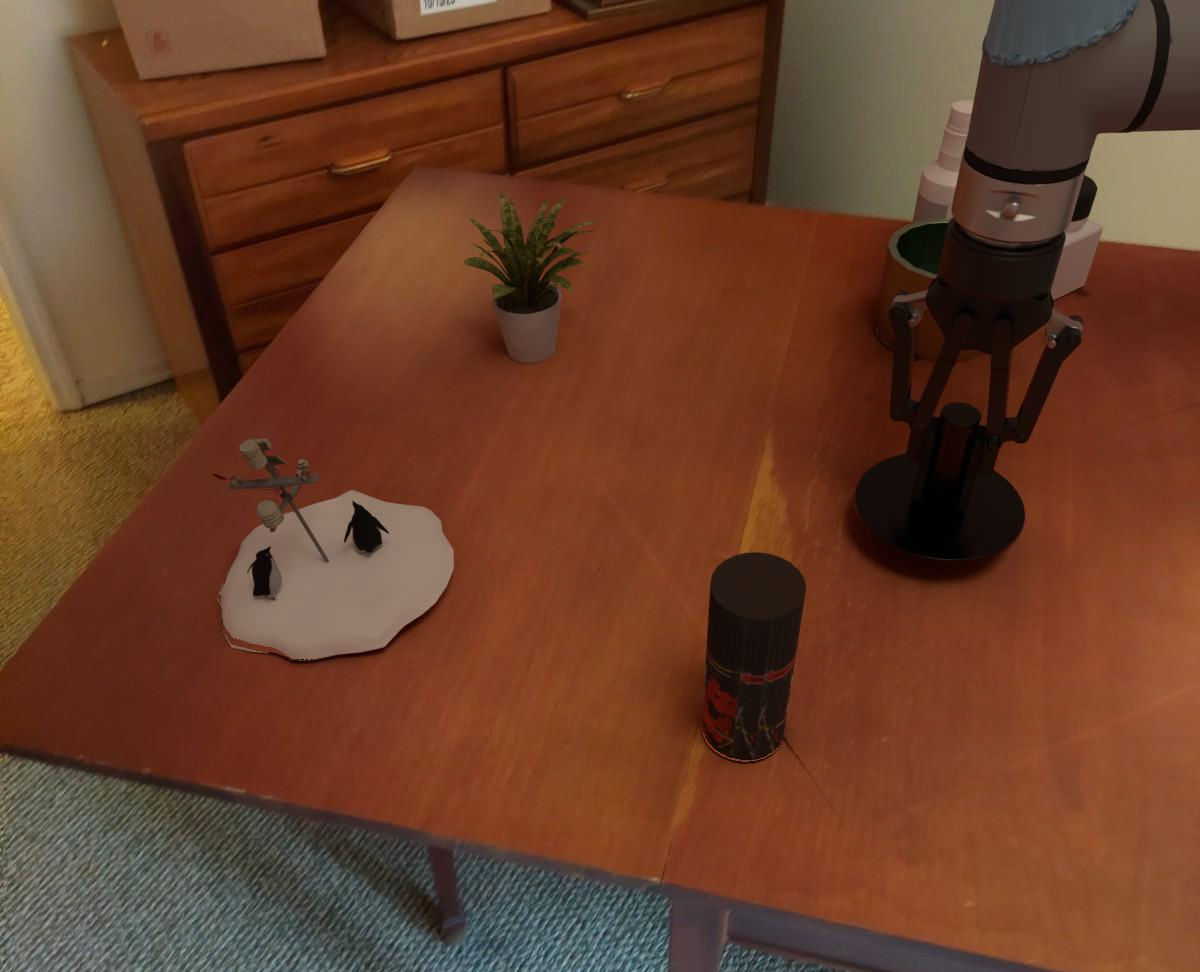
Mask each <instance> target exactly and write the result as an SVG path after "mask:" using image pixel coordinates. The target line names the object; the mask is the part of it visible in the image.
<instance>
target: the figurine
mask: <svg viewBox="0 0 1200 972" xmlns="http://www.w3.org/2000/svg"><path fill="white" fill-rule="evenodd" d="M272 447H273V445H272V443H271V441H270V439H269V438H255V437H252V438H250V439H247V440H245V441H243V442H242V443H241V444H240V445H239V451H240V453H241V456H242V457H243V458H244V459H245V461H246V462H247V464H248V466H249V467H250V469H251V470H254V471H257V470H262V469H263V468H265V469H266V471H267V472H268V473H270V475H271V476H272V477H269V478H268V477H267V478H258V479H257V478H256V479H244V478H245V477H243V476H236V475H231V476H230V477H225V476H222V475H220V474H218V473H211V475H212V476H213V477H215V478H217V479H218V480H220V481H227V480H230V482H229V484H228V486H227V490H250V489H252V490H260V491H261V490H262V491H264V490H265V491H275V494H277V493H278V495H279V496H280V499H281V503H280V505H278V503H277V501H273V500H270V499H265V500H262V501H260V502H259V503H258V505H257V507H256V515H257V516H258V519H260V522H261V523H262V524H260V525H258V526H256V527H254V528H253V529H252V530H251V532H250V533H249V534H248V535H247V536H246V537H244V539H243V540H242V541H241V544H240V546H239V549H238V553H237V555H236V557H235V559H234V561H233V563H232V565H231V567H230V569H229V571H228V572H229V573H228V572H227V574H228V576H227V575H226V576H227V579H226V582H225V584H224V586H223V588H222V585H223V582H224V580H223V581H222V584H221V586H220V589H219V592H218V596H219V594H220V595H221V596H222V597H221V604H220V602H219V599H218V596H217V598H216V601H217V602H218V604H219V606H220V609H221V620H222V619H223V625H224V626H225V628H226V630H227V631H228V632H229V633H230V635H231V636H232V637H233V638H234V639H235V638H236V639H238V640H239V639H240V640H242V641H243V640H244V642H245V641H246V642H248V643H249V642H250V644H251V643H252V644H257V645H262V646H265V647H266V646H267V647H273V648H275V649H278V651H279V650H280V651H281V652H283V653H284V654H286V656H289V657H290V658H291V659H300V660H299V661H302V660H301V659H304V660H303V661H314V660H319V659H323V658H324V659H325V658H328V657H332V656H337V655H346V654H357V653H363V652H369V651H372V650H377V649H378V650H379V649H383V648H385V647H386V646H387V645H388V644H389V642H391V641H392V640H393V639H394V638H395V636H396V635H398V633H399V632H400V631H401V630H403V628H404V627H405V626H406V625H408V624H410V623H411V622H413V621H414V620H416V619H418V618H420V616H422V615H424V614H425V613H426V612H427V611H428V610H429V609H430V608H432V607H433V606H434V605H436V603H437V601H438V600H439V598H441V595H442V594H443V592H444V591H445V590H446V588H447V586H448V584H449V582H450V580H451V577H452V575H453V572H454V569H455V560H454V559H455V558H454V555H455V553H454V548H453V547H452V545H451V544H450V542H449V540H448V538H447V537H446V535H445V534H444V532H443V525H442V520H441V519H440V518H439V517H438V516H437V515H436V514H435V513H434V512H433V511H432V510H431V509H430V508H427V507H425V506H421V505H413V504H412V505H411V504H404V503H395V502H388V501H384V500H381V499H379V498H376V497H372V496H371V495H367V494H365V493H362V492H360V491H357V490H353V489H350V490H349V491H346V492H344V493H341V494H340V495H338V496H336V497H334V498H331V499H327V500H323V501H320V502H319V501H318V502H316V503H313V504H309V505H307V506H304V507H301V508H298V507H297V506H296V503H295V502H294V499H295V497H296V496H297V495H298V494H299V491H300V489H301V486H304V485H313V484H318V480H319V478H320V477H321V475H320V474H311V472H310V471H308V469H309V467H310V462H309V461H308V460H307V459H304V458H300V459H299V460H298V461H297V464H296V467H297V471H296V474H295V475H294V476H282V474H281V471H280V470H279V469H277V467H275V466H278V465H279V466H281V465H287V461H285V460H284V459H282V457H280V456H279V455H267V456H266V452H265V451H269V450H271V448H272ZM290 487H291V488H290ZM287 488H290V492H288V490H287ZM287 505H290V507H291V509H292V510H293V511H289V512H286V513H284V512H285V510H286V507H287ZM221 588H222V590H221ZM220 591H221V592H220ZM222 634H223V635H224V637H225V639H226V640H227V642H228V644H229V646H230V647H231V648H232V649H236V650H241V651H246V652H252V653H263V654H269V653H268V652H262V651H256V650H251V649H247V648H243V647H239V646H235V645H232V644H231V643H230V641H229V640H228V638H227V636H226V635H225V633H224V631H223V630H222ZM318 658H319V659H318ZM306 659H308V660H306ZM311 659H312V660H311ZM313 659H314V660H313Z"/></svg>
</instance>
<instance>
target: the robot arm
mask: <svg viewBox="0 0 1200 972" xmlns="http://www.w3.org/2000/svg"><path fill="white" fill-rule="evenodd" d="M981 52H982V53H981V54H982V55H981V59H980V65H979V70H978V74H977V75H978V76H977V81H976V87H975V91H974V97H973V101H974V102H973V108H972V113H971V119H970V124H969V130H968V135H967V140H966V144H965V149H964V151H963V154H962V159H961V164H960V169H959V174H958V179H957V184H956V188H955V193H954V198H953V203H952V208H951V212H952V215H953V218H952V219H951V220H950V221H949V223H948V228H947V232H946V237H945V242H944V247H943V252H942V257H941V262H940V266H939V271H938V275H937V276H936V278H935V279H934V280H933V281H932V282H931V283H930V285H929V287H928V290H926V291H922V292H918V293H914V294H910V293H909V292H908V291H905V290H900V291H898V292H897V293H896V294H895V296H894V299H893V301H892V304H891V307H890V310H889V313H888V315H889V319H890V322H891V325H892V328H893V331H894V334H895V346H894V353H893V359H892V360H893V361H892V374H891V386H890V398H889V399H890V400H889V413H888V415H889V418H890V420H892V421H893V422H896V423H897V422H899V423H900V422H904V423H905V424H907V425H908V426H909V429H910V431H909V436H908V442H907V445H906V451H905V453H906V458H907V460H908V461H913V462H918V463H919V465H918V469H917V474H916V478H915V483H914V487H913V492H912V496H911V500H914V501H919V502H920V500H921V496H922V492H923V488H924V483H925V479H926V475H927V470H928V466H929V462H930V457H931V453H932V449H933V444H934V440H935V436H936V431H937V426H938V421H939V417H940V416H935V415H934V414H935V411H936V408H937V407H938V404H939V401H940V400H941V397H942V394H943V392H944V390H945V388H946V386H947V383H948V381H949V378H950V376H951V373H952V371H953V369H954V367H955V364H957V362H958V361H957V359H958V356H959V354H960V352H961V350H979V351H981V352H983V353H985V355H990V373H989V387H988V388H989V389H988V399H987V400H988V402H987V414H986V425H984V424H979V428H978V432H977V436H976V438H975V442H974V446H973V450H972V453H971V457H970V461H969V465H968V469H967V472H966V476H965V480H964V484H963V488H962V491H961V495H960V499H959V503H958V507H957V509H959V510H964V511H967V508H968V504H969V501H970V497H971V493H972V490H973V486H974V482H975V479H976V475H977V474H983V475H988V476H989V475H990V474H991V473H992V472H993V471H995V467H996V464H997V460H998V456H999V453H1000V449H1002V448H1001V447H1002V445H1003V444H1005V443H1007V442H1014V443H1017V444H1019V445H1022V444H1026V443H1027V442H1028V441H1029V440H1030V438H1031V436H1032V434H1033V431H1034V429H1035V426H1036V424H1037V422H1038V420H1039V417H1040V416H1041V413H1042V411H1043V408H1044V406H1045V404H1046V401H1047V399H1048V397H1049V395H1050V392H1051V390H1052V387H1053V384H1055V380H1056V378H1057V376H1058V373H1059V371H1060V369H1061V367H1062V365H1063V363H1064V362H1065V360H1066V359H1068V357H1070V355H1072V353H1074V352H1075V350H1076V349H1078V347H1080V346H1081V343H1082V339H1083V332H1084V323H1085V321H1084V319H1083V317H1081V316H1080V315H1077V314H1073V315H1070V316H1066V315H1065V314H1063V313H1062V312H1061V311H1059V310H1057V309H1055V308H1054V306H1055V305H1054V304H1055V302H1054V301H1055V300H1053V298H1052V295H1051V288H1052V285H1053V281H1054V278H1055V274H1056V271H1057V267H1058V264H1059V260H1060V257H1061V254H1062V250H1063V247H1064V243H1065V240H1066V235H1065V232H1064V231H1065V230H1066V229H1067V228H1068V227H1069V225H1070V222H1071V219H1072V216H1073V212H1074V209H1075V205H1076V202H1077V198H1078V195H1079V191H1080V188H1081V184H1082V181H1083V178H1084V175H1086V174H1085V173H1086V170H1087V167H1088V164H1089V162H1090V158H1091V155H1092V151H1093V148H1094V145H1095V144H1096V143H1095V142H1096V139H1097V138H1098V135H1100V134H1130V133H1139V132H1140V133H1142V132H1144V133H1145V132H1146V133H1147V132H1175V131H1176V132H1177V131H1200V0H994V2H993V6H992V10H991V14H990V18H989V21H988V25H987V28H986V32H985V35H984V38H983V40H982V45H981ZM926 309H929V310H930V312H931V314H932V316H933V318H934V319H935V321H936V323H937V325H938V327H939V328H940V330H941V332H942V334H943V336H944V337H945V339H944V342H943V344H942V347H941V349H940V351H939V354H938V356H937V359H936V361H934V364H933V366H932V369H931V371H930V373H929V376H928V379H927V381H926V383H925V386H924V388H923V390H922V393H921V395H920V398H919V400H918V401H916V400H914V399H913V398H911V397H912V387H913V376H914V366H915V361H914V355H915V344H916V333H917V325H918V324H920V323H921V321H922V318H923V315H924V311H925V310H926ZM1042 327H1044V328H1045V330H1044V336H1043V343H1044V344H1045V346H1044V348H1043V350H1042V353H1041V355H1040V358H1039V360H1038V363H1037V365H1036V368H1035V369H1034V373H1033V375H1032V378H1031V379H1030V383H1029V385H1028V387H1027V390H1026V392H1025V395H1024V397H1023V399H1022V402H1021V404H1020V407H1019V409H1018V411H1017V414H1016V415H1015V416H1008V405H1009V392H1010V382H1011V381H1010V380H1011V369H1012V358H1013V349H1014V348H1016V347H1017V346H1018V345H1020V344H1021V343H1022V342H1024V341H1025V340H1026V339H1028V338H1029V337H1030V336H1032V335H1033V334H1034V333H1036V332H1037V331H1038V330H1040V329H1041V328H1042ZM1007 416H1008V417H1007Z"/></svg>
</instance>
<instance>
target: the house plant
mask: <svg viewBox="0 0 1200 972" xmlns="http://www.w3.org/2000/svg"><path fill="white" fill-rule="evenodd" d="M549 197H550V195H548V196H547V197H546V198H545V200H544V202H543V203H542V204H541V207H540V209H539V211H538V213H537V215H536V217H535V218H534V221H533V222H532V224H531V226H530V228H529V231H528V234H527V237H526V241H525V238H524V236H525V235H526V233H523V232H524V231H523V227H522V224H521V221H520V219H519V216H518V214H517V209H516V205H515V203H514V202H513V199H512V196H510V197H509V200H508V197H507V196H506V195H505V194H504V193H503V192H502V190H501V191H500V193H499V207H500V209H499V210H500V217H501V224H502V230H498V229H488V228H487V226H485V225H484V224H482V223H481V222H480V221H478V220H475V219H473V218H471V217H468V219H469V221H470V222H471V223H472V224H473V225H474V226H475V227H476V228H478V230H479V231H480V233H481V235H482V236H483V237H484V238H482V237H479V239H480V240H481V241H484V243H485V244H486V245H488V246H489V247H490V248H491V249H492V250H486V249H485V248H483V247H482V246H481V245H479V244H477V243H473V242H471V243H470V245H472V246H474V247H475V248H478V249H480V250H481V251H482V252H481V253H480V254H479V255H478V256H472V257H468V258H466V259H464V260H463V261H462V262H461V264H465V265H466V266H470V267H473V268H476V269H480V270H483V271H486V272H487V273H491V274H492V275H493V276H495V277H496V278H498V280H500V282H501V283H496V284H493V285H492V286H491V289H492V299H491V301H492V307H493V309H494V312H495V315H496V318H497V321H498V325H499V327H500V331H501V334H502V338H503V340H504V344H505V347H506V351H507V354H508V357H509V358H510V359H512V360H514V361H515V362H518V363H521V364H537V363H541V362H544V361H547V360H549V359H550V358H551V357H553V355H554V354H555V353H556V350H557V343H558V342H557V341H558V334H559V333H558V332H559V324H560V315H561V305H562V292H561V290H560V289H559V288H561V289H563V290H564V288H565V289H566V290H567V291H569V292H570V293H571V295H572V296H574V293H573V288H572V284H571V282H570V281H569V280H568V279H567V278H566V277H564V276H562V275H557V274H558V273H561V272H563V271H565V270H568V269H570V268H572V267H575V266H578V265H580V264H581V265H586V263H585V262H584V261H582V260H580V259H579V258H577V257H578V256H582V255H584V254H588V253H590V252H592V251H590V250H588V251H586V250H585V251H582V250H581V251H577V250H575V249H572V248H569V247H565V246H564V245H563V244H564V243H566V242H567V241H568V240H569V239H571V238H573V237H574V236H577V235H581V234H582V235H583V234H585V233H590V232H594V231H595V229H589V230H588V229H587V230H578V229H580V228H583V227H585V226H589V225H592V224H595V223H597V222H598V220H591V221H585V222H581V223H578V224H575V225H573V226H571V227H569V228H567V229H566V230H564V231H562V232H561V233H559V234H558V235H557V236H555V237H553V238H550V239H549V236H551V235H550V234H551V233H552V231H553V229H554V227H555V226H556V223H557V218H558V214H559V212H560V210H561V209H562V207H563V206H564V204H565V202H566V200H567V199H568V197H566V198H563V199H561V200H560V201H558V202H557V203H556V204H554V205H553V207H552V208H551V209H550V210H549V211H548V212H547V208H548V205H549ZM546 212H547V213H546ZM493 231H494V232H499V233H500V234H501V235H503V236H502V237H503V244H504V246H505V247H503V246H502V245H501V243H500V242H499V240H498V238H497V237H496V236H495V235H494V234H493ZM552 248H553V249H552ZM551 250H552V251H551ZM550 251H551V252H550ZM490 252H491V253H493V254H494V255H495V256H497V257H498V259H499V260H500V262H499V260H497V259H496V257H494V255H492V254H491V253H490ZM549 252H550V253H549ZM548 253H549V254H548ZM547 254H548V255H547ZM569 254H570V255H569ZM484 255H486V256H488V257H489V258H491V259H492V260H493V261H494V262H495V263H496V264H497V265H498V266H499V268H500V269H499V268H498V267H497V266H496V265H495V264H493V263H491V262H490V261H488V260H486V259H484V258H481V257H482V256H484ZM546 255H547V256H546ZM564 255H568V256H567V257H566V258H563V259H561V260H559V261H558V262H556V263H555V264H553V265H552V266H551V267H550V268H549V269H548V270H547V271H545V270H546V269H547V267H548V266H549V265H550V264H551V263H552V262H553V261H554V260H555V259H557V258H559V257H561V256H564ZM545 256H546V257H545ZM544 272H545V273H544ZM542 275H543V276H542ZM551 282H552V283H551ZM502 283H503V284H502Z"/></svg>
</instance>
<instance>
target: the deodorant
mask: <svg viewBox="0 0 1200 972" xmlns="http://www.w3.org/2000/svg"><path fill="white" fill-rule="evenodd" d="M806 592H807V584H806V581H805V577H804V575H803V574H802V572H801V571H800V569H798V567H796V566H795V565H794V564H793V563H792V562H791V561H788V560H787V559H785V558H783V557H781V556H779V555H775V554H773V553H767V552H760V551H757V552H756V551H755V552H753V551H752V552H743V553H739V554H734V555H733V556H731V557H729V558H727V559H724V560H723V561H722V562H721V563H719V565H717V566H716V568H715V569H714V571H713V572H712V574H711V578H710V583H709V598H708V601H709V602H708V615H707V633H706V648H705V649H706V650H705V667H704V679H703V681H704V682H703V697H702V698H703V699H702V714H701V716H702V717H701V729H702V728H703V732H702V731H701V734H702V738H703V740H704V742H705V744H706V746H707V747H708V748H709V749H710V751H712V753H714V754H715V755H716V756H718V757H719V758H721V759H724V760H726V761H728V762H731V763H737V764H743V765H745V764H755V763H759V762H762V761H765V760H767V759H768V758H770V757H772V756H773V755H775V753H776V752H777V751H778V750H780V747H781V745H782V744H783V742H784V736H785V729H786V724H787V716H788V711H789V705H790V704H789V703H790V696H791V691H792V683H793V678H794V672H795V671H794V670H795V664H796V657H797V652H798V651H797V650H798V645H799V639H800V631H801V625H802V620H803V619H802V618H803V613H804V612H803V611H804V607H805V599H806ZM703 733H704V735H705V738H706V740H707V741H708V743H709V744H710V745H711V746H712V747H713V748H714V749H715V750H717V751H718V752H720V753H721V754H724V755H726V756H727V757H729V758H735V759H740V760H756V759H760V758H762V757H763V758H764V757H765V756H767V755H768V754H770V753H772V752H773V751H774V750H776V748H778V747H779V748H778V749H777V750H776V751H775V752H774V753H773V754H771V755H769V756H767V757H766V758H764V759H760V760H757V761H749V762H741V761H735V760H731V759H728V758H726V757H723V756H721V755H720V754H718V753H717V752H715V751H714V750H713V749H712V748H711V747H710V746H709V745H708V744H707V742H706V740H705V738H704V736H703ZM781 741H782V742H781ZM779 745H780V746H779Z"/></svg>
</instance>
